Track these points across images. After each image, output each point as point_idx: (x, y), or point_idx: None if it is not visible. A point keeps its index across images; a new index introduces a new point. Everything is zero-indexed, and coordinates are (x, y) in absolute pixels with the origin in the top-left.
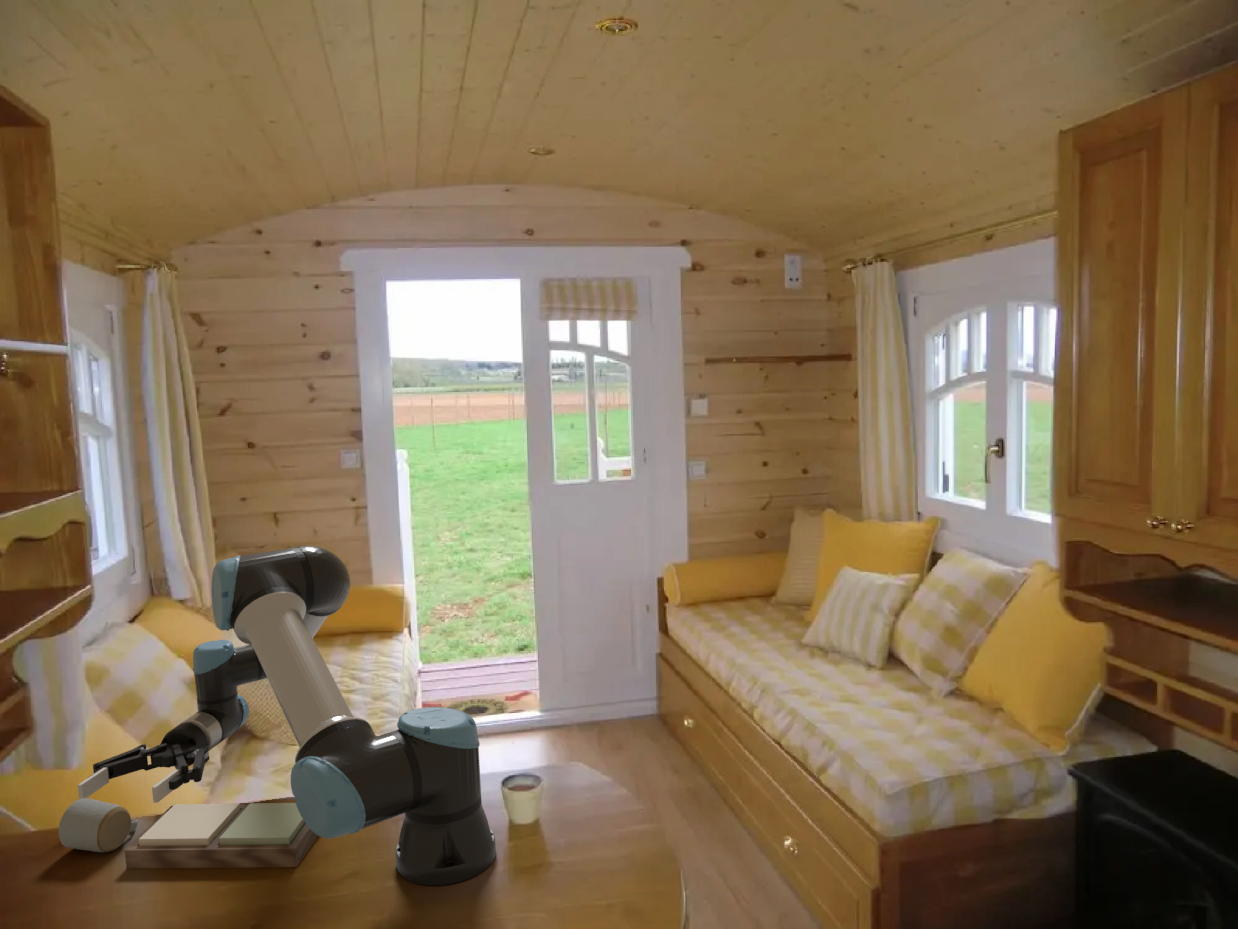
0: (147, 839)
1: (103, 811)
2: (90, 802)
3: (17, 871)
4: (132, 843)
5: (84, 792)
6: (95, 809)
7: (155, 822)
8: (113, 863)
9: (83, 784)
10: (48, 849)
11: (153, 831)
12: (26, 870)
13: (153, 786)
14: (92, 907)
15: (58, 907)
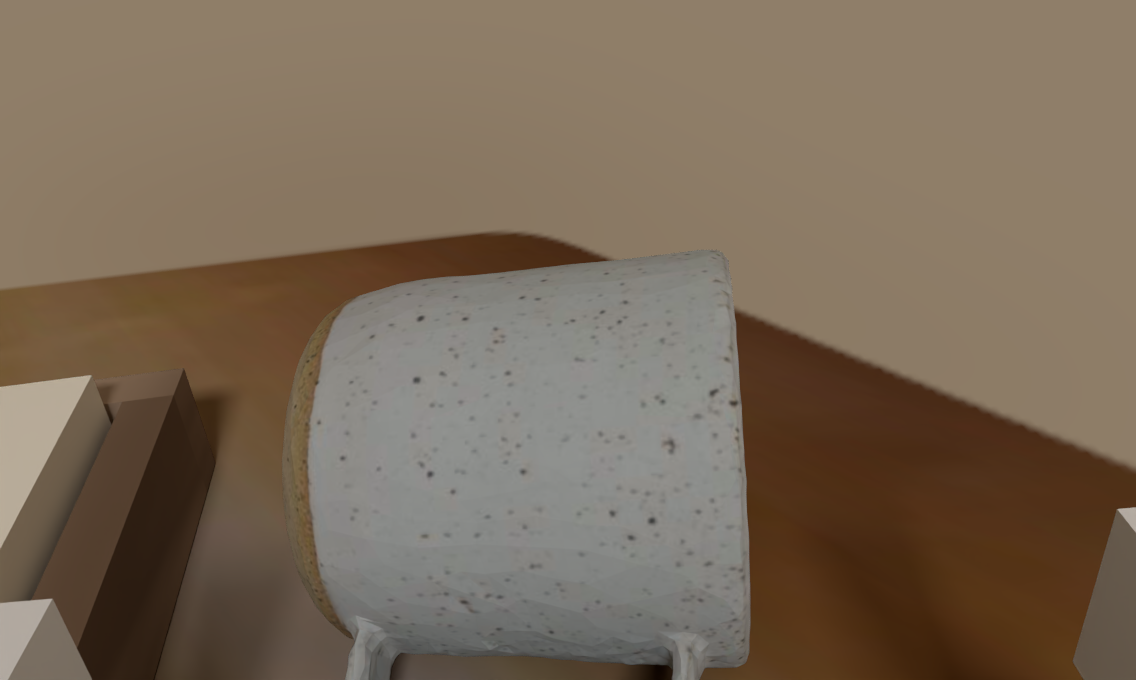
0: (30, 386)
1: (387, 289)
2: (577, 297)
3: (836, 369)
4: (160, 412)
5: (1107, 625)
6: (466, 279)
7: (69, 626)
8: None
9: (1133, 538)
10: (907, 522)
11: (5, 439)
12: (795, 380)
13: (30, 612)
14: (245, 293)
15: (390, 275)
